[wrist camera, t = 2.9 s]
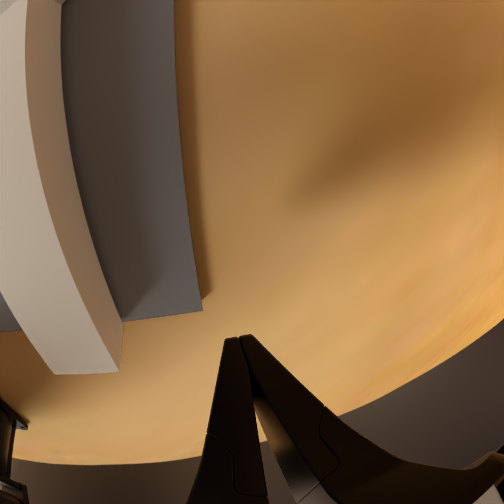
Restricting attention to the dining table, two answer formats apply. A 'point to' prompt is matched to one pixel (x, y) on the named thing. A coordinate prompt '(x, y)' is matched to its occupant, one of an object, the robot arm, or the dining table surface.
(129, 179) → the board
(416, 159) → the dining table surface
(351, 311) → the dining table surface
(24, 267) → the link
